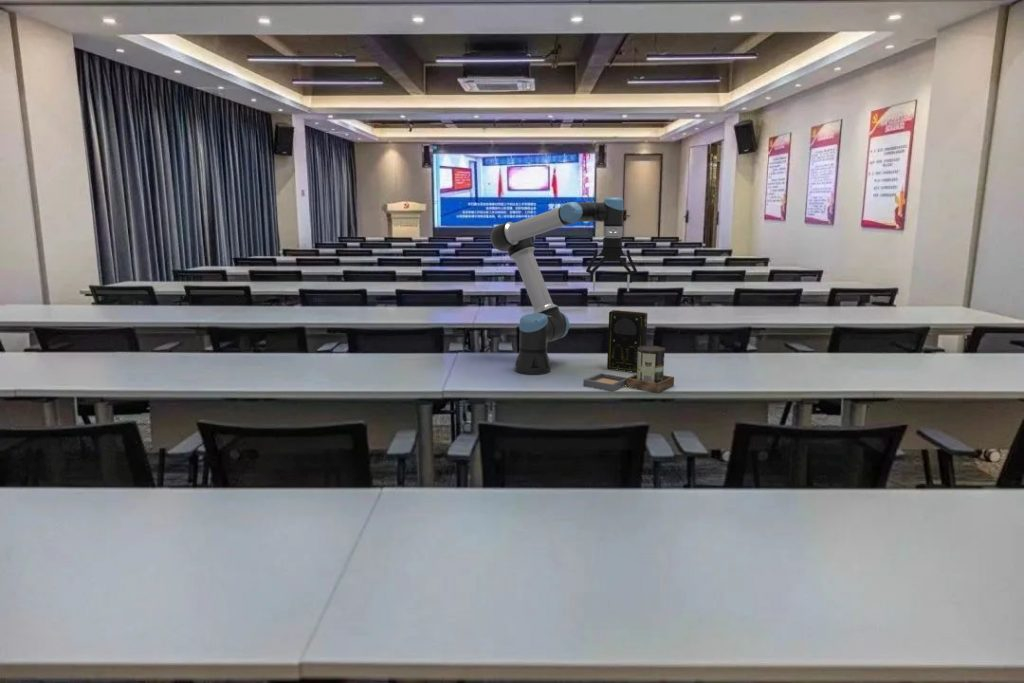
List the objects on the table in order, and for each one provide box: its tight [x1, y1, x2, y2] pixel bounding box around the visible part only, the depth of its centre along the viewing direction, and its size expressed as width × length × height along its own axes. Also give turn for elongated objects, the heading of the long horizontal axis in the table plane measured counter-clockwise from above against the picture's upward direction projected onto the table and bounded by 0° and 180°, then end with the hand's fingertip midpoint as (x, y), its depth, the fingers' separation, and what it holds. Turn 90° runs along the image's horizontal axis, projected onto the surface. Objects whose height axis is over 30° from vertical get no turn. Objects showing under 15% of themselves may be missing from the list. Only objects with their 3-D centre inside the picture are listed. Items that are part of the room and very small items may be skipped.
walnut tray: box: [625, 373, 675, 394], centre depth 264 cm, size 14×14×4 cm
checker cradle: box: [582, 372, 627, 393], centre depth 266 cm, size 13×13×2 cm
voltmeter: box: [606, 309, 648, 373], centre depth 288 cm, size 16×9×25 cm, turn 62°
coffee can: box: [636, 345, 666, 383], centre depth 263 cm, size 10×10×14 cm
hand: (610, 290), depth 276 cm, fingers open, 13 cm apart
